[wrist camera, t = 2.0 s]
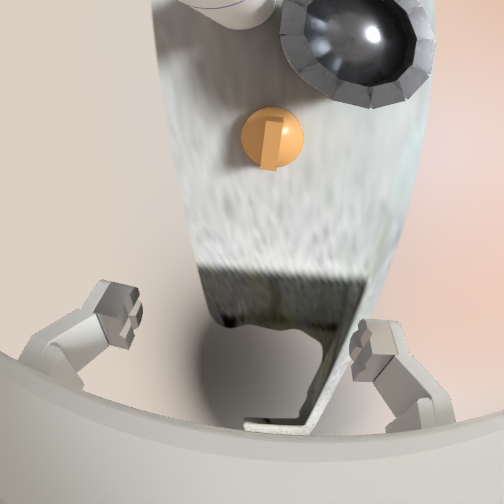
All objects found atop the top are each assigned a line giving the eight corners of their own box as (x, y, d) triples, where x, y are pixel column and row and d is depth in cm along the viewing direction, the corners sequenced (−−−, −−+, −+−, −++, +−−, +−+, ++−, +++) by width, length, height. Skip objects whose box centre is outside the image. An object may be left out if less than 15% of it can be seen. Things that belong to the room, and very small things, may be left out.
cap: (246, 103, 29) (240, 109, 25) (306, 111, 29) (311, 119, 25) (240, 157, 33) (234, 173, 29) (297, 165, 33) (299, 182, 29)
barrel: (286, -17, 20) (288, -49, 12) (398, 11, 20) (441, -3, 12) (273, 83, 27) (270, 90, 19) (382, 106, 27) (420, 126, 19)
